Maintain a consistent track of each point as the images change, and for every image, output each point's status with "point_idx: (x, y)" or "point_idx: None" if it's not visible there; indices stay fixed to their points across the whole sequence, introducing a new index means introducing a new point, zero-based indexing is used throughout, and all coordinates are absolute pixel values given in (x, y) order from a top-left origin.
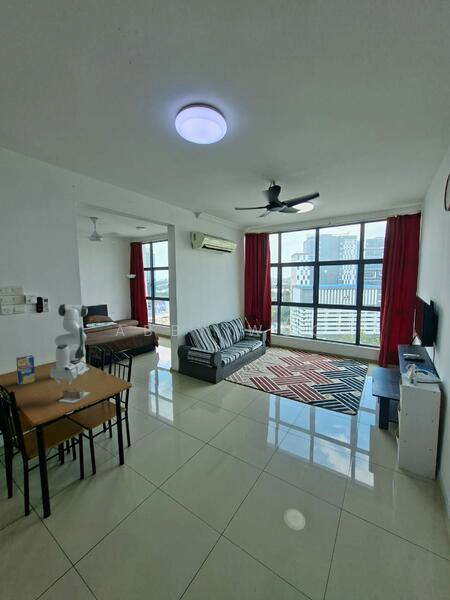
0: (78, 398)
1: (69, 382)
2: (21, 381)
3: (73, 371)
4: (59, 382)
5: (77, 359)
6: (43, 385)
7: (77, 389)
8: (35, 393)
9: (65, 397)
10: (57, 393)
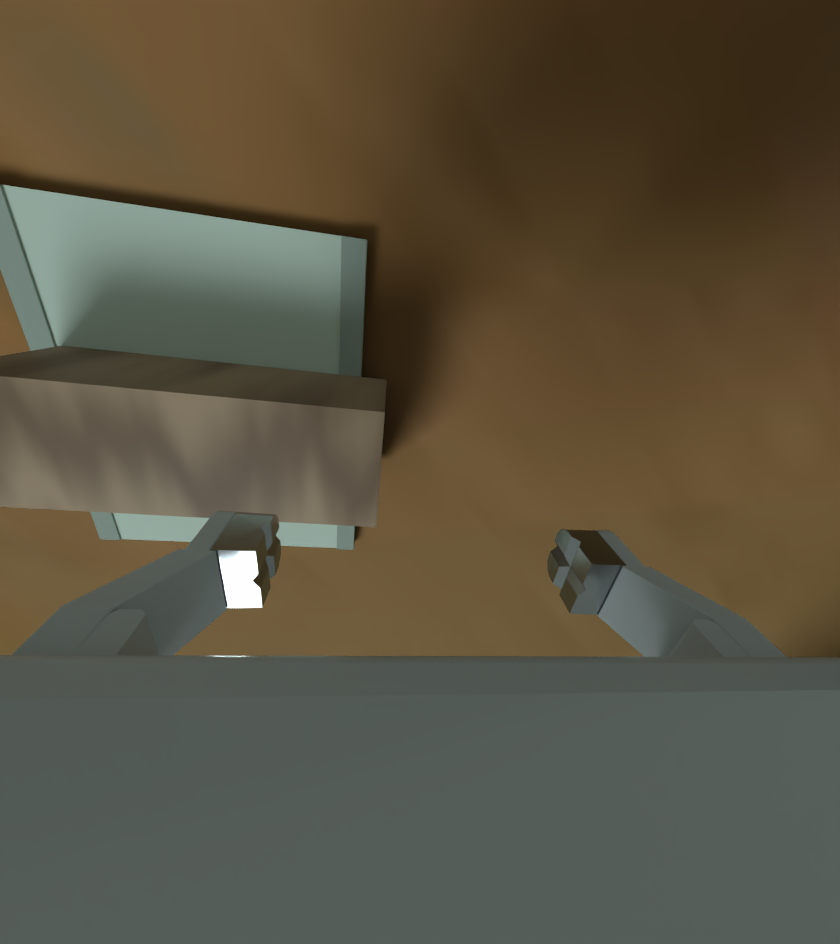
0: (82, 349)
1: (164, 559)
2: None
3: None
4: (561, 572)
5: None
6: (777, 610)
7: (131, 488)
8: (810, 455)
9: (339, 370)
10: (545, 483)
